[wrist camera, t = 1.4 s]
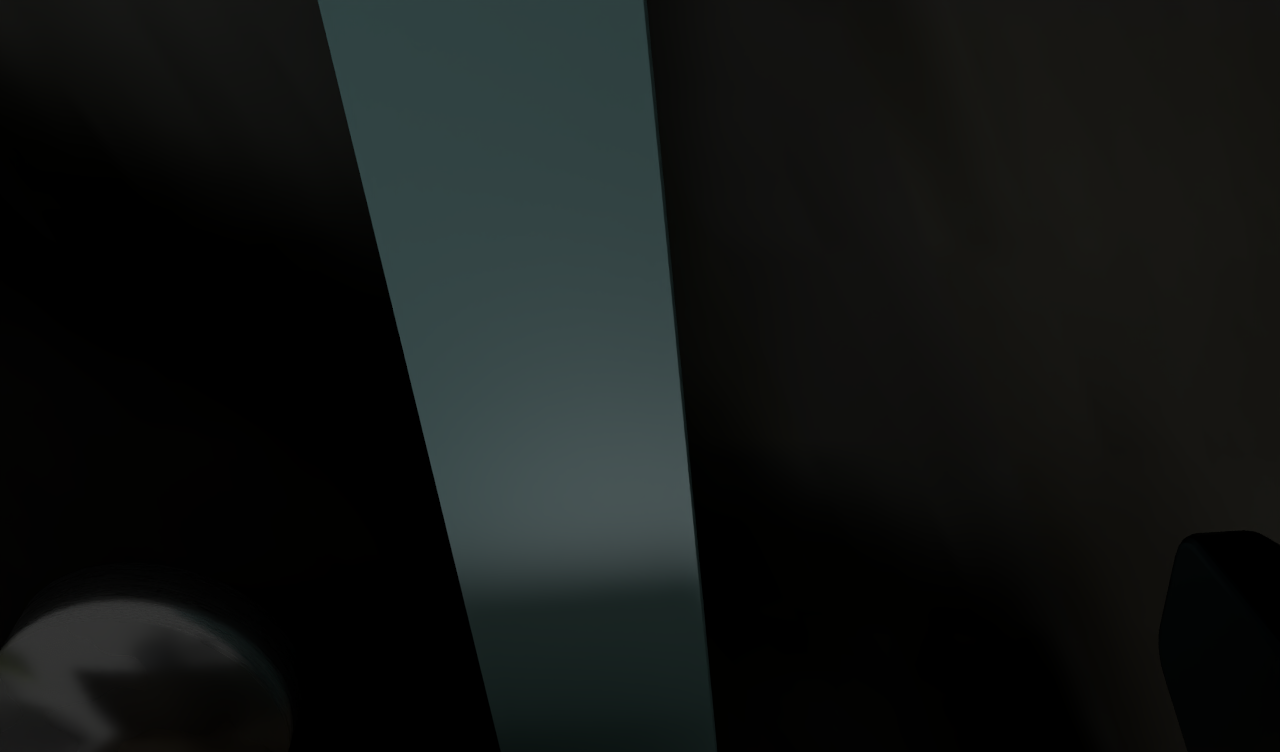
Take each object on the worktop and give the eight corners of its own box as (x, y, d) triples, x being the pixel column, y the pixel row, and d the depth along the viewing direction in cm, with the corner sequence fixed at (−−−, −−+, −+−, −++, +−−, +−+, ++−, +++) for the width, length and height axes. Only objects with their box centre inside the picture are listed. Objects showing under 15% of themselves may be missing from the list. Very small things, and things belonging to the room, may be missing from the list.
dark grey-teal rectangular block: (626, -225, 14) (628, -165, 10) (717, 754, 23) (733, 952, 20) (367, -197, 14) (285, -130, 11) (562, 766, 23) (552, 965, 20)
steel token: (271, 544, 20) (246, 612, 19) (335, 744, 23) (316, 817, 21) (-23, 561, 20) (-69, 630, 19) (75, 759, 23) (41, 832, 22)
